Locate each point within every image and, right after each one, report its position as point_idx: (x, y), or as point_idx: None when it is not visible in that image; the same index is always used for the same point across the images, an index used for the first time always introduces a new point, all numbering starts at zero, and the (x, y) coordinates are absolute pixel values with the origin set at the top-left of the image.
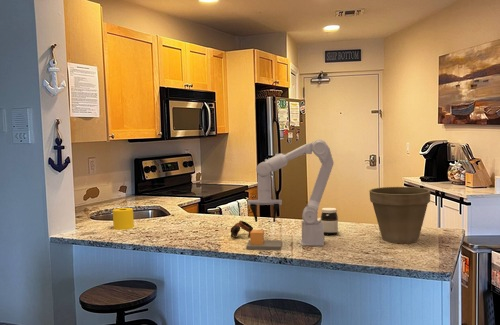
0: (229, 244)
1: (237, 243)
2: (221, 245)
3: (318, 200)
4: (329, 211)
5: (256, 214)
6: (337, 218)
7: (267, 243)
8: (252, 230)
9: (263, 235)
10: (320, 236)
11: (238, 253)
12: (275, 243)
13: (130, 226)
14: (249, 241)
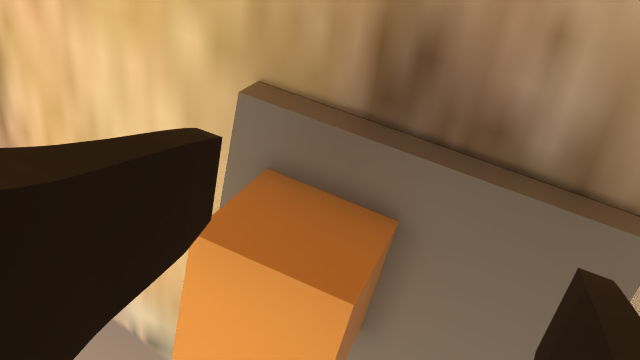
0: (67, 51)
1: (137, 32)
2: (7, 68)
3: None
4: None
5: (112, 250)
6: None
7: (422, 305)
8: (197, 263)
9: (362, 300)
10: None
11: (162, 354)
12: (516, 341)
13: None
14: (237, 154)
